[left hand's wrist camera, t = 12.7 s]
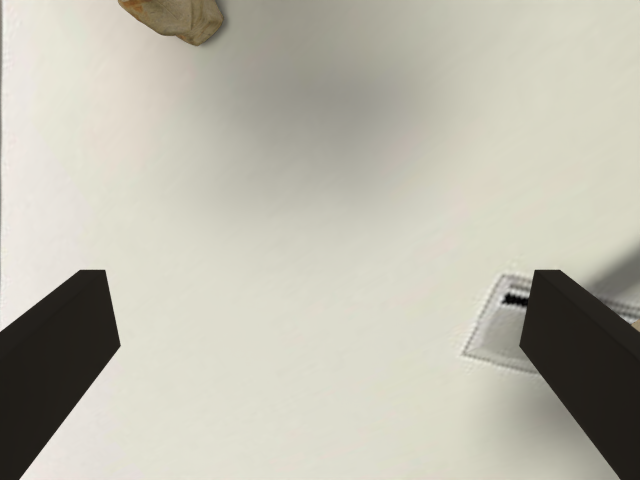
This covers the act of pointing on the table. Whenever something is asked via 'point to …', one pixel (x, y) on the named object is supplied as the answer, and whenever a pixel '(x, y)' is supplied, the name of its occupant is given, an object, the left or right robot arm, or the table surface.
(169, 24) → the sculpture
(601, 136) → the table surface
